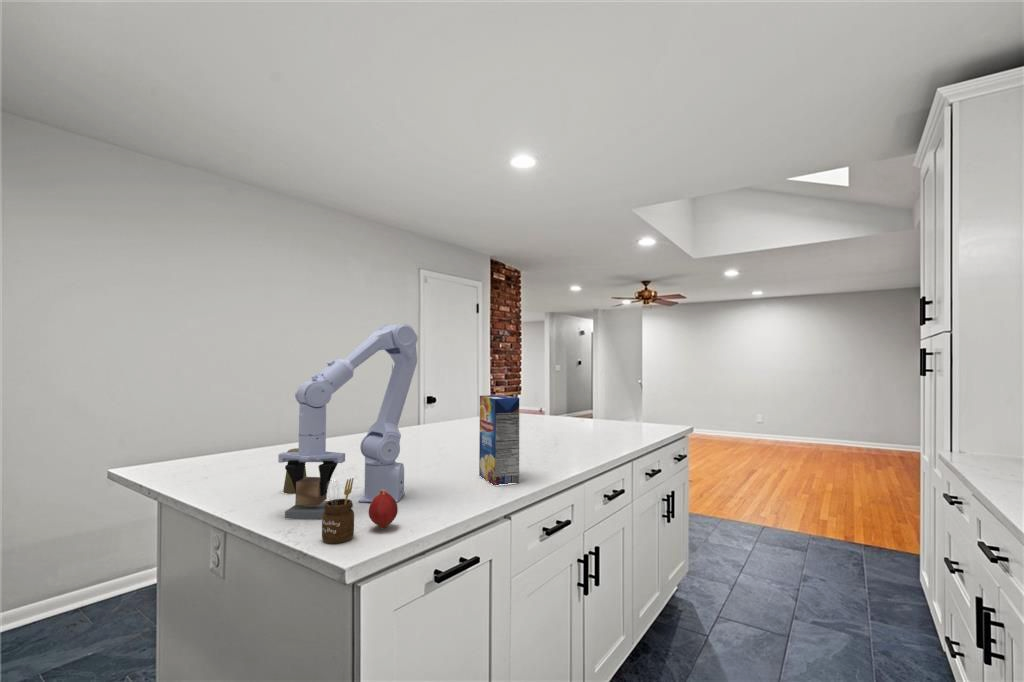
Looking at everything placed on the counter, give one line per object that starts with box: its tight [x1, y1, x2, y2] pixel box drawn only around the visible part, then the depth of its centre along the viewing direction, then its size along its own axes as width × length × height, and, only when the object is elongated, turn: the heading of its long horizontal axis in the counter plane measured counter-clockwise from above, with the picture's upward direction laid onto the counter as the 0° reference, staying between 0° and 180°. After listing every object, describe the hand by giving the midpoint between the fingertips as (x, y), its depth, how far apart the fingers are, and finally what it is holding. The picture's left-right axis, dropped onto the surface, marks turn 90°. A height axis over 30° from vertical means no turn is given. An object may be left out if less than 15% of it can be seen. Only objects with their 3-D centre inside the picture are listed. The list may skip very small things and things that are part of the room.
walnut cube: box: [294, 476, 328, 506], centre depth 109 cm, size 5×5×5 cm
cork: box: [282, 447, 308, 495], centre depth 128 cm, size 6×6×11 cm
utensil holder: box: [321, 477, 355, 545], centre depth 94 cm, size 6×6×12 cm
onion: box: [368, 490, 398, 529], centre depth 100 cm, size 6×6×8 cm
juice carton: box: [478, 394, 520, 486], centre depth 140 cm, size 12×8×24 cm, turn 25°
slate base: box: [284, 500, 329, 520], centre depth 109 cm, size 8×8×2 cm
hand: (311, 494), depth 109 cm, fingers closed on walnut cube, 5 cm apart
